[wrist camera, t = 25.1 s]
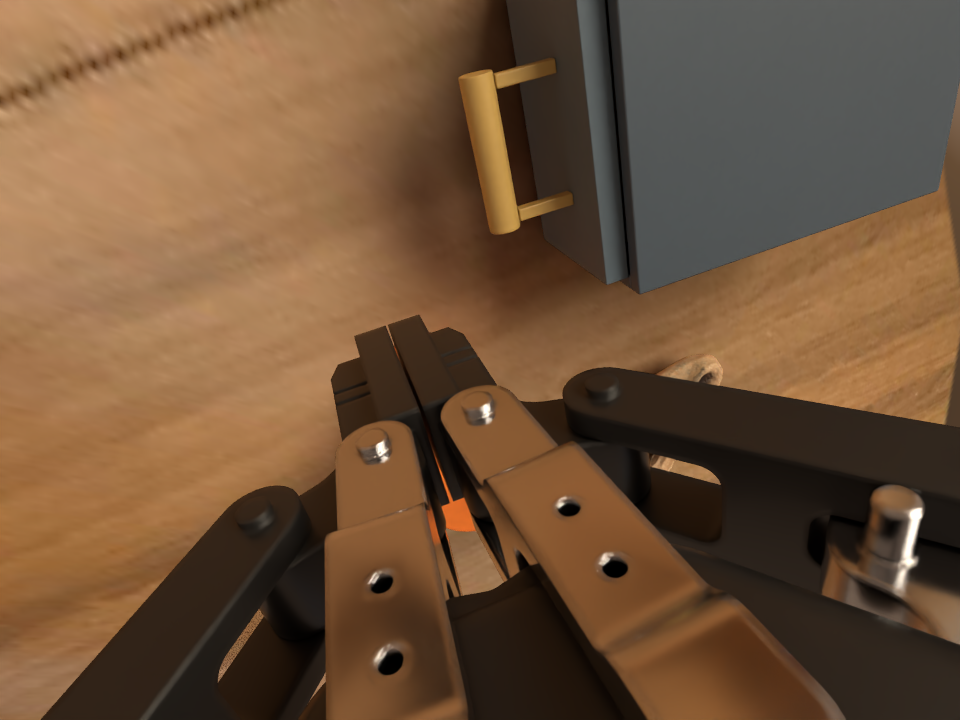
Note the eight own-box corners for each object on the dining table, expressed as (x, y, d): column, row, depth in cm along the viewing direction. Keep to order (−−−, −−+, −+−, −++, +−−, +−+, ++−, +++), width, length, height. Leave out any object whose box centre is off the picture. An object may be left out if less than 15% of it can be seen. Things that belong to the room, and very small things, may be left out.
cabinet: (557, 238, 37) (639, 295, 29) (516, -42, 29) (611, -72, 21) (801, 159, 39) (938, 191, 31) (822, -116, 32) (1010, -168, 24)
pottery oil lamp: (723, 371, 46) (767, 456, 42) (582, 433, 50) (610, 515, 46) (699, 324, 39) (748, 420, 35) (537, 400, 43) (566, 494, 39)
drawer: (475, 261, 35) (523, 314, 28) (415, -2, 28) (460, -14, 21) (782, 162, 38) (889, 188, 31) (796, -97, 31) (938, -133, 24)
